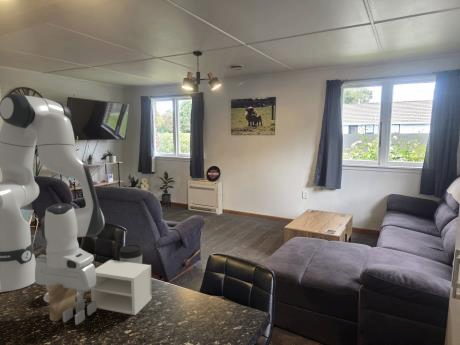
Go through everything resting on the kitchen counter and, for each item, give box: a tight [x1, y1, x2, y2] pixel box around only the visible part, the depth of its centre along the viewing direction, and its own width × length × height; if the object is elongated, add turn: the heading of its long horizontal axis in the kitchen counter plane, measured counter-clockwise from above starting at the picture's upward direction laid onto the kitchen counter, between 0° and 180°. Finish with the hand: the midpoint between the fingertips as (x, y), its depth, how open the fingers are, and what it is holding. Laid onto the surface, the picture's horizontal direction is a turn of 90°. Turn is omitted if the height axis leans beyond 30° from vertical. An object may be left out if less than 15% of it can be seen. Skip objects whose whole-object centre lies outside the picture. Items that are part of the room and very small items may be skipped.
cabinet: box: [62, 259, 153, 325], centre depth 95 cm, size 19×19×12 cm
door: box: [47, 284, 77, 322], centre depth 94 cm, size 3×8×10 cm, turn 164°
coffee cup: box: [118, 244, 144, 264], centre depth 110 cm, size 8×8×15 cm
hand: (66, 299), depth 94 cm, fingers open, 8 cm apart
